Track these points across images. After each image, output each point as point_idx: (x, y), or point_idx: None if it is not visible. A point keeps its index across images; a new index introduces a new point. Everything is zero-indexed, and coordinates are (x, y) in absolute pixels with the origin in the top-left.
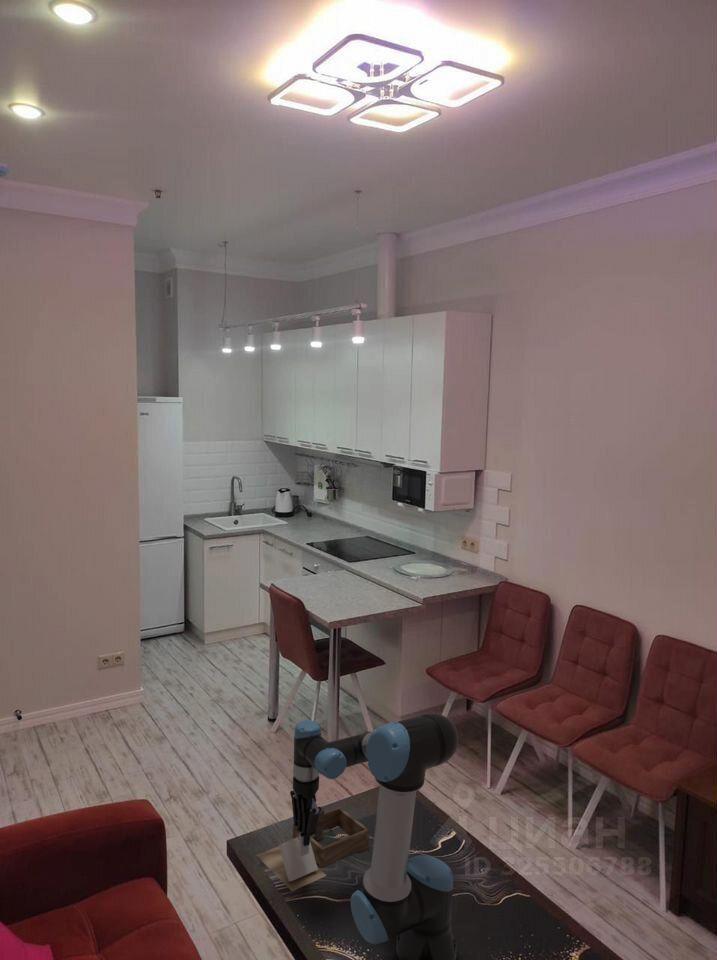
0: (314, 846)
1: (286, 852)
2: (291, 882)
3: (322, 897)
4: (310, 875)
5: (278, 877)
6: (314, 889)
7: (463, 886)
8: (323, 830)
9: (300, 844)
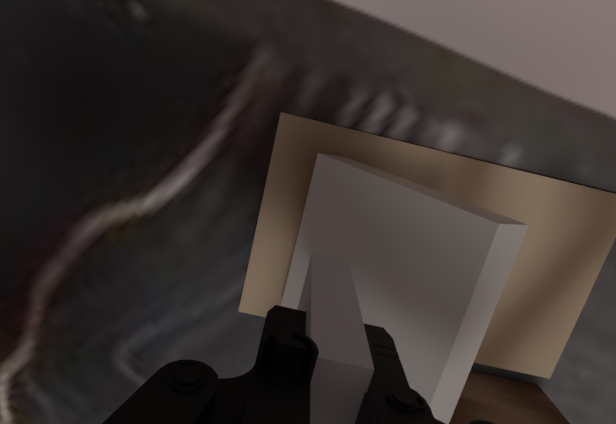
0: None
1: (427, 213)
2: None
3: (151, 193)
4: None
5: (412, 145)
6: (221, 210)
7: None
8: None
9: (327, 297)
